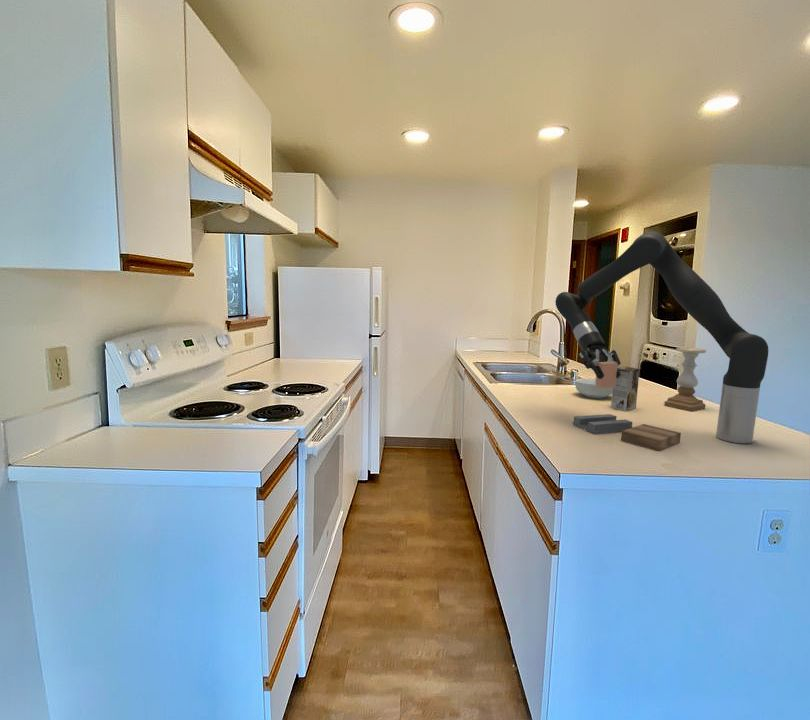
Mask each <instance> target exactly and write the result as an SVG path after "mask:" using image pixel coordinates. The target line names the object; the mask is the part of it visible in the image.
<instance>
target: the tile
mask: <svg viewBox="0 0 810 720" xmlns="http://www.w3.org/2000/svg"><path fill="white" fill-rule="evenodd" d="M598 364H599V366H600V368H601V370H602V372H603V374H604V377H603V378H602V379H598V377H597V376H596V375H595V379H596V382H595V386H596V387H599V388H608V387H616V375H617V368H619V366H618V363H614V362H607V361H606V362H598ZM599 366H598V367H599Z"/></svg>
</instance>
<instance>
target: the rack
mask: <svg viewBox="0 0 810 720" xmlns="http://www.w3.org/2000/svg"><path fill="white" fill-rule="evenodd" d="M572 424H573V425H572V426H574V425H575V427H577V426H578V427H577V428H579V427H580V429H581V428H582V429H581V430H584V429H585V430H584V431H586V430H587V431H586V432H588V431H589V432H588V433H590V434H594V435H603V434H617V433H622V431H623V430H627V429H630V428H633V421H631V420H629V419H617V416H616V415H614V414H611V413H609V414H608V413H605V414H604V413H603V414H592V415H590V414H589V415H577V416H573V421H572Z"/></svg>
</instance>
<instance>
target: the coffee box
mask: <svg viewBox="0 0 810 720" xmlns="http://www.w3.org/2000/svg"><path fill="white" fill-rule="evenodd" d="M617 368H618V369H619V371H620V373H621V376H620V377H619V378H618V379H616V387H613V389H612V395H611V403H610V408H611V409H615V410H617V411H624V412H629V411H631V410H634V409H636V408H637V400H638V391H639V390H638V388H639V379H640V368H636V367H631V366H619V367H617Z"/></svg>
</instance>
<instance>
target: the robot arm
mask: <svg viewBox="0 0 810 720" xmlns="http://www.w3.org/2000/svg"><path fill="white" fill-rule="evenodd" d="M648 265H650V266H652V267H653V269H655V270H656V271H657V273H659V274H660V276H661V277H662V279H663V280H664V283H665V284H666V286H667V288H668V291H669V292H670V293H671V295H672V297H673V298H674V300H675V301H676V303H678V304H679V306H681V307H682V308H683V309H684V311H685V312H686V313H687V314H689V315H690V316H691V317H692V319H694V320H695V321H696V322H697V323H698V324H699V325H700V326H702V327H703V328H704V329H705V330H706V331H707V332H708V333H709V334H710V335H711V336H712V337H713V339H714V341H715V342H716V343H717V345H718V346H719V347H720V349H722V351H723V352H724V354H725V355H726V356H727V357H728V359H729V360H728V362H729V363H728V369H727V371H726V373H725V374H724V375H723V377H722V384H721V385H722V386H721V395H720V402H719V403H720V404H719V409H718V410H719V411H718V418H717V424H716V426H717V427H716V433H715V437H716V438H718V439H720V440H722V441H726V442H730V443H733V444H734V443H735V444H746V445H747V443H748V444H752V443H753V441H754V440H753V439H754V434H755V427H756V420H757V412H758V405H759V399H760V398H759V397H760V389H761V384H762V381H763V380H764V378H765V374H766V370H767V364H768V360H769V359H768V357H769V346H768V343H767V341H766V339H764V337H761V336H760V335H757V334H754V333H753V334H752V333H749V332H748V331H746V329H745V328H743V327H742V326H741V325H739V324H738V323H737V322H736V321H735V320H734V319H733V318H732V316H731V314H729V312H728V310H727V308H726V307H725V305H724V303H723V302H722V300H721V298H720V297H719V295H718V294H717V293H716V291H715V290H714V289H713V288H712V287H711V286H710V285H709V284H708V283H707V282H706V281H705V280H704V279H703V278H702V277H701V276H699V274H698V273H697V272H696V271H695V270H694V269H693V268H691V267H690V266H689V265H688V264H687V263H686V262H685V261H683V259H682V258H681V257H680V256H679V255H678V253H677V252H676V251H675V250H674V248H673V246H672V245H671V244H670V243H669V241H668V240H667V239H666V237H665V236H664V235H663V234H661V233H659V232H657V231H647V232H644V233H642V234H641V235H640V236H638V237H637V238H635V240H634V241H633V242H632V244H631V245H630V246H628V248H627V249H626V250H625V251H624V252H623V253H622V254H620V255H619V256H618V257H617V258H616V259H615V260H613V261H612V262H610V263H609V264H608V265H606V266H604V267H602V268H600V269H599V270H597V271H596V272H594V273H593V274H592V275H590V276H588V277H587V278H586V279H584V280H583V281H582V282H581V283H580V284H578V286H577V291H578V293H577V294H575V293H571V292H568V291H562V292H560V293H559V294H558V295H557V296H556V298H555V301H554V303H555V307H556V309H557V311H558V312H559V314H560V315H561V316H562V317H563V318H564V319H565V321H566V322H567V323H568V324H569V326H570V328H571V330H572V333H573V335H574V338H575V339H576V341H577V343H578V346H579V348H580V349H581V351H580V353H578V355H577V356H578V358H579V359H580V361H581V363H582V364H583V365H584V367H585V368H586V369H587V370H589V369H591V371H593V372H594V374H595V377H596V376H597V377H598V379H602V378H603V377H604V374H603V372H602V370H601V368H600V366H599V364H598V362H614V363H618V367H617V375H616V379H618V378H619V377H620V376H621V373H620V371H619V369H618V368H619V367H620V365H621V360H620V359H619V356H618V353H617V351H616V350H615V349H612V351H610V350H609V349H607V348H606V347H605V341H604V339H603V337H602V335H601V334H600V331H599V330H598V328H597V327H596V325H595V324H594V323H593V321H592V319H591V318H590V316H589V315H588V313H587V312H586V311H585V308H587V307H588V305H589V304H590V303H591V302H592V301H593V299H595V298H597V297H598V296H599V295H601V294H602V293H604V292H605V291H607V290H608V289H610V288H611V287H612V286H614V285H615V284H616V283H618V282H619V281H620V280H622V279H623V278H625V277H626V276H628V275H629V274H631V273H633V272H634V271H635V272H636V271H637V270H638V269H639V270H640V269H641V268H644V267H645V266H648ZM598 366H599V367H598Z"/></svg>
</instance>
